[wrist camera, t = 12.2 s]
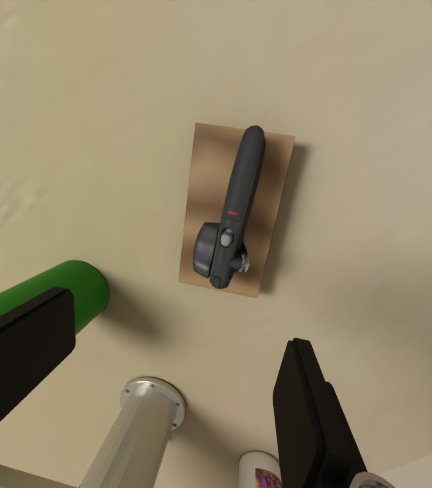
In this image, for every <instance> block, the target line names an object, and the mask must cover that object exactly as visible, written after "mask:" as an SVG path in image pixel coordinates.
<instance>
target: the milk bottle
mask: <svg viewBox="0 0 432 488" xmlns="http://www.w3.org/2000/svg"><path fill="white" fill-rule="evenodd" d="M238 488H282V484H281V474H280V467H279V465H278V463H277V461H276V460H275V459H274V458H273V457H272V456H271V455H269V454H266V453H264V452H258V451H253V452H248V453H246V454H244V455H243V456H242V458H241V460H240V463H239V480H238Z"/></svg>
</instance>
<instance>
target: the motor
mask: <svg viewBox="0 0 432 488" xmlns="http://www.w3.org/2000/svg"><path fill="white" fill-rule="evenodd" d="M55 286H58V287H63V288H67V289H70V290H71V293H73V295H74V312H75V335H76V334H78V333H79V332H80V331H81V330H82V329H83V328H84V327H85V326H86V325H87V324H88V323H89V322H90V321H92V320H93V319H94V318H95V317H96V316H97V315H98V314H99V313H100V312H101V311H102V310H103V309H104V308H105V307H106V306H107V304H108V301H109V289H108V285H107V283H106V281H105V279H104V278H103V276H102V275H101V274H100V273H99V272H98V271H97V270H96V269H95V268H94V267H92V266H91V265H89V264H87V263H85V262H82V261H77V260H70V261H66V262H64V263H61V264H59V265H57V266H55V267H53V268H51V269H49V270H47V271H45V272H43V273H41V274H39V275H37V276H35V277H32V278H30V279H28V280H26V281H24V282H22V283H20V284H18V285H16V286H14V287H12V288H10V289H8V290H6V291H3V292H1V293H0V316H1V315H3V314H5V313H7V312H8V311H10V310H12V309H14V308H16V307H18V306H19V305H21V304H23V303H25V302H27V301H29V300H30V299H32V298H34V297H36V296H38V295H39V294H41V293H43V292H45V291H47V290H49V289H50V288H52V287H55Z"/></svg>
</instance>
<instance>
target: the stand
mask: <svg viewBox="0 0 432 488" xmlns="http://www.w3.org/2000/svg"><path fill="white" fill-rule="evenodd" d="M245 131H246V130H245V129H238V128H230V127H223V126H216V125H209V124H201V123H195V132H194V141H193V150H192V160H191V169H190V178H189V188H188V197H187V206H186V216H185V225H184V234H183V244H182V253H181V262H180V272H179V281H178V282H180V283H185V284H190V285H195V286H200V287H205V288H209V289H214V290H219V291H224V292H229V293H234V294H239V295H243V296H248V297H253V298H258V293H259V289H260V285H261V281H262V276H263V272H264V268H265V264H266V259H267V255H268V251H269V247H270V242H271V238H272V234H273V229H274V225H275V221H276V217H277V212H278V208H279V204H280V200H281V195H282V191H283V187H284V183H285V178H286V174H287V170H288V166H289V161H290V157H291V153H292V149H293V144H294V140H295V136H289V135H281V134H274V133H267V132H264V136H265V137H264V138H265V141H266V147H265V153H264V159H263V164H262V169H261V173H260V178H259V182H258V186H257V190H256V193H255V197H254V201H253V204H252V207H251V211H250V215H249V218H248V222H247V225H246V229H245V234H244V238H243V241H244V244H245V247H246V250H247V256H248V258H249V264H250V266H249V267H248V270H247V271H246V272H241V271H240V272H239V270H237V271H236V272H234V274H233V277H232V279H231V281H230V284H229V285H228V287H227V288H224V289H217V288H215V287H214V286H212V285H211V283H210V281H209V278H210V277H209V278H205V277H203V276H201V275H200V274H198V273H196V272H194V270H193V251H194V245H195V242H196V238H197V236H198V233H199V231H200V229H201V227H202V225H203V224H204V223H205V222H213V223H220V221H221V216H222V211H223V206H224V202H225V197H226V193H227V189H228V184H229V180H230V176H231V173H232V169H233V166H234V162H235V159H236V155H237V152H238V149H239V145H240V142H241V139H242V136H243V134H244V132H245Z"/></svg>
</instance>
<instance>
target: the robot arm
mask: <svg viewBox="0 0 432 488" xmlns="http://www.w3.org/2000/svg"><path fill="white" fill-rule="evenodd" d="M75 344H76V338H75V312H74V295H73V293H71V290H70V289H67V288H63V287H58V286H55V287H52V288H50V289H49V290H47V291H45V292H43V293H41V294H39V295H38V296H36V297H34V298H32V299H30V300H29V301H27V302H25V303H23V304H21V305H19V306H18V307H16V308H14V309H12V310H10V311H8V312H7V313H5V314H3V315H1V316H0V421H1V420H2V419H3V418H4V417H5V416H6V415H8V414H9V413H10V412H11V411H12V410H13V409H14V408H15V407H16V406H17V405H18V404H19V403H20V402H21V401H22V400H23V399H24V398H25V397H26V396H27V395H28V394H29V393H30V392H31V391H32V390H33V389H34V388H35V387H36V386H37V385H38V384H39V383H40V382H41V381H42V380H43V379H44V378H45V377H47V376H48V375H49V374H50V373H51V372H52V371H53V370H54V369H55V368H56V367H57V366H58V365H59V364H60V363H61V362H62V361H63V360H64V359H65V358H66V357H67V356H68V355H69V354H70V353H71V352H72V351H73V349H74V347H75ZM120 404H121V408H122V410H121V412H120V414H119V415H118V417H117V419H116V421H115V423H114V425H113V426H112V428H111V430H110V432H109V434H108V435H107V437H106V439H105V441H104V443H103V444H102V446H101V448H100V450H99V452H98V454H97V455H96V457H95V459H94V461H93V463H92V464H91V466H90V468H89V470H88V472H87V474H86V475H85V477H84V479H83V481H82V483H81V484H80V486H79V488H154V484H155V481H156V478H157V475H158V472H159V468H160V465H161V462H162V459H163V455H164V452H165V449H166V446H167V443H168V439H169V436H170V433H171V431H172V430H174V429H176V428H178V427H179V426H180V425H181V423H182V422H183V419H184V416H185V411H186V408H185V403H184V400H183V398H182V396H181V395H180V394H179V392H178V391H177V390H176V389H175V388H173V387H172V386H171V385H169V384H168V383H166V382H164V381H162V380H159V379H156V378H150V377H141V378H137V379H134V380H132V381H130V382H129V383H127V385H126V386H125V387H124V389H123V391H122V393H121V396H120ZM273 407H274V416H275V426H276V435H277V444H278V453H279V462H280V471H281V480H282V488H395V487H394V486H393V485H391V484H390V483H389V482H387V481H386V480H385V479H383V478H381V477H380V476H378V475H375V474H373V473H369V472H368V471H367V469H366V467H365V464H364V462H363V459H362V457H361V454H360V452H359V449H358V447H357V444H356V442H355V440H354V437H353V435H352V432H351V430H350V427H349V425H348V422H347V420H346V418H345V415H344V413H343V410H342V408H341V405H340V403H339V400H338V398H337V396H336V393H335V391H334V388H333V386H332V385H331V384H330V383H329V382H326V381H325V379H324V377H323V374H322V372H321V369H320V366H319V364H318V361H317V358H316V356H315V353H314V351H313V348H312V345H311V343H310V341H308V340H304V339H299V338H294V339H293V341H290V340H289V341H288V343H287V346H286V350H285V353H284V356H283V360H282V363H281V367H280V370H279V373H278V377H277V380H276V384H275V387H274V391H273ZM0 488H77V487H73V486H70V485H67V484H63V483H60V482H57V481H53V480H50V479H47V478H43V477H40V476H37V475H33V474H30V473H26V472H23V471H20V470H16V469H13V468H10V467H6V466H3V465H0Z"/></svg>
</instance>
